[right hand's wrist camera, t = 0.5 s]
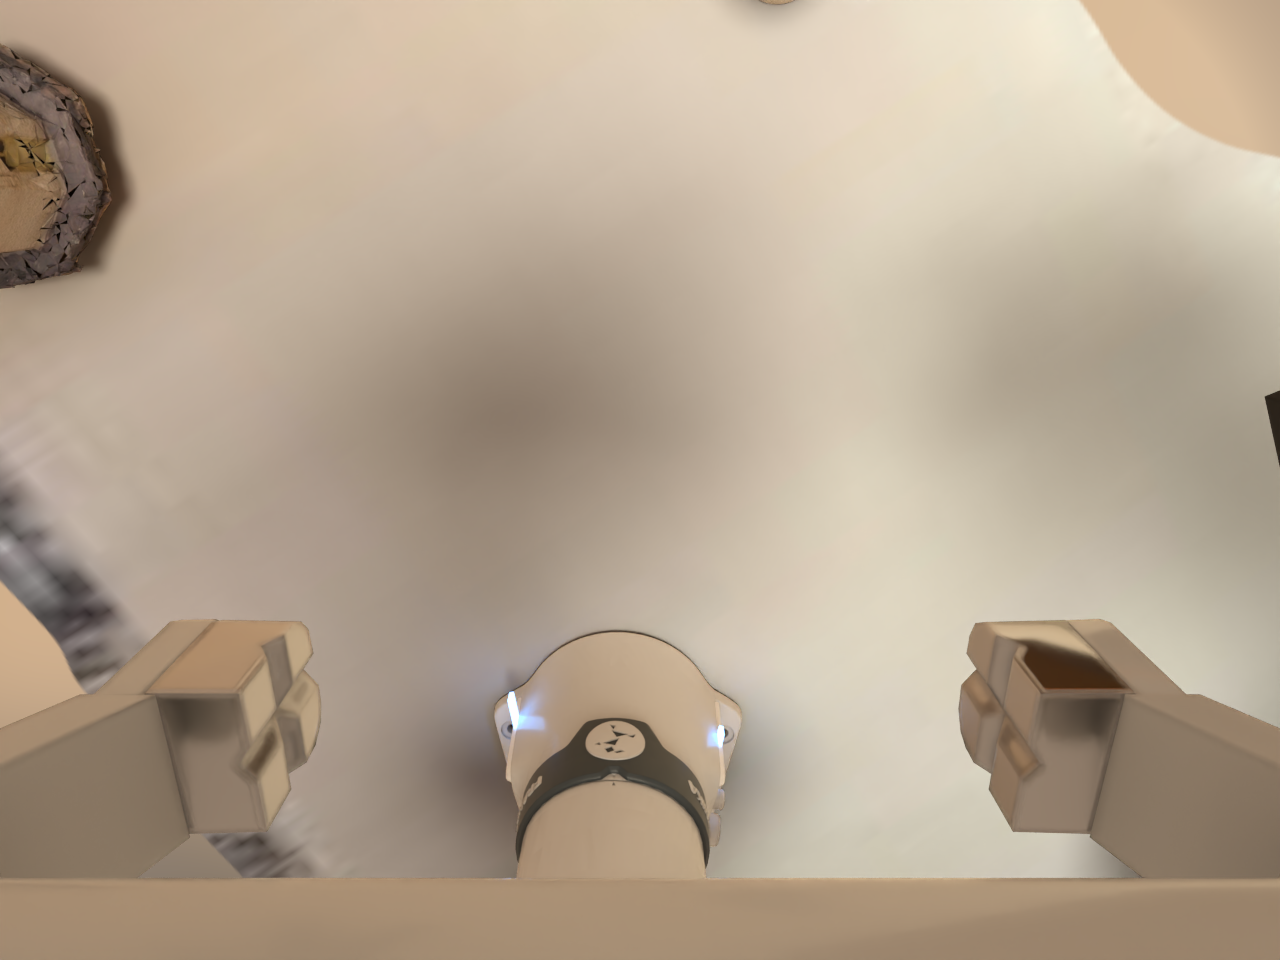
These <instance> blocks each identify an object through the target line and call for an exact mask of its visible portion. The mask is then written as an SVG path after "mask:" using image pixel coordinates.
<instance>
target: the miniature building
mask: <svg viewBox="0 0 1280 960" xmlns="http://www.w3.org/2000/svg"><path fill="white" fill-rule="evenodd" d="M13 84H15V85H13ZM18 85H19V86H20V87H21V88H22V89H23V90H25V91H26V93H24V94H23V93H22V91H21V89H20V88H19V86H18ZM30 89H31V91H30V92H28V91H29V90H30ZM1 96H2V97H1ZM3 97H4V98H3ZM12 97H14V98H15V99H16V100H17V101H16V100H14V99H13V98H12ZM6 99H7V100H6ZM55 100H56V101H55ZM0 101H2V102H0V289H1V288H11V287H13V286H16V285H21V284H25V285H26V284H28V283H34V282H35V280H42V279H45V278H49V277H54V276H61V275H67V274H71V273H73V272H80V271H81V269H82V267H83V266H82V267H81V266H80V265H79V264H78V263H77V262H78V258H79V254H80V253H81V252H82V251H83V250H84V248H85V247H86V246H87V245H88V244H89V242H90V241H91V239H92V237H93V234H94V232H95V229H96V227H97V225H98V223H99V220H100V218H101V216H102V214H103V213H104V211H105V210H106V208H107V207H108V205H109V204H110V202H111V201H112V199H111V193H110V190H109V186H108V181H107V179H108V176H107V172H106V168H105V163H104V161H103V160H102V158H101V156H100V154H99V151H100V149H98V148H97V147H96V145H95V143H94V140H93V134H94V133H93V129H92V128H94V127H93V124H92V121H91V118H90V116H89V113H88V110H87V108H86V106H85V103H84V101H83V100H82V98H81V97H80V95H79V94H78V93H77V92H75V91H74V90H73V89H72V88H70V87H68V86H66V85H62V84H61V83H60V82H58V81H57V80H56V79H53V78H52V77H51V75H50V74H48V73H47V72H46V71H44V70H43V69H41V68H40V67H38V66H37V65H35V64H34V63H32V62H31V61H28V60H25V59H23V58H22V57H21V56H19V55H18V54H17V53H15V52H14V51H12V50H11V49H10V48H8V47H6V46H4V45H2V44H0ZM3 102H5V103H4V104H3ZM62 102H63V103H62ZM19 103H20V104H21V105H20V104H19ZM13 104H14V105H13ZM4 105H5V108H4ZM56 105H57V107H58V108H61V109H65V110H66V111H57V107H56ZM14 109H15V110H14ZM21 110H22V111H21ZM21 113H22V114H21ZM25 113H26V114H25ZM38 113H39V114H38ZM40 114H41V115H40ZM28 115H29V116H28ZM13 116H14V117H13ZM71 116H72V118H71ZM16 117H17V118H16ZM19 118H21V119H19ZM23 118H24V119H23ZM34 119H36V120H34ZM72 120H73V123H72ZM79 121H80V124H79ZM73 125H74V126H73ZM79 125H80V126H82V127H84V128H85V130H84V131H85V132H84V133H85V135H84V133H83V130H82V128H81V127H80V126H79ZM74 127H75V128H76V130H77V131H78V133H79V134H80V136H81V141H80V139H79V138H78V136H77V135H76V132H75V129H74ZM61 128H63V129H65V131H64V133H63V131H62V129H61ZM63 134H65V136H66V137H67V139H68V140H69V141H68V140H67V139H66V138H65V137H64V136H63ZM37 137H38V138H37ZM15 139H18V140H22V141H23V142H24V144H23V143H21V142H19V141H17V140H15ZM38 142H39V143H38ZM28 143H29V144H30V145H31V147H33V148H31V147H30V146H29V144H28ZM81 143H82V144H83V147H82V146H81ZM21 145H26V146H27V147H28V148H26V149H30V150H31V152H32V154H33V156H34V158H33V157H32V158H33V159H31V158H29V156H30V151H29V152H27V150H26V149H25V148H23V147H19V146H21ZM33 152H34V153H35V154H36V155H37V156H38V157H39V158H40V159H42V160H43V161H44V162H45V163H44V164H43V163H42V162H41V161H40V160H39V159H38V158H37V157H36V156H35V154H34V153H33ZM34 161H35V166H34V164H33V162H34ZM47 162H55V163H54V165H52V164H48V163H47ZM42 165H43V166H42ZM36 170H37V171H38V172H39V174H40V176H38V173H37V171H36ZM62 171H63V172H62ZM53 173H58V174H53ZM64 175H65V177H66V180H67V182H68V193H69V192H70V191H72V190H73V189H74V188H75V187H77V186H78V185H79V184H80V185H79V186H78V188H77V189H76V191H75V192H74V194H73V195H72V197H71V198H70V196H69V195H68V193H67V188H66V182H65V177H64ZM96 175H99V176H98V177H99V178H100V179H99V178H98V177H97V176H96ZM100 176H101V177H100ZM56 177H57V179H55V178H56ZM53 179H55V180H54V181H52V180H53ZM51 181H52V182H51ZM83 181H86V183H82V182H83ZM93 182H95V184H96V187H97V188H96V187H95V186H94V184H93ZM48 183H49V184H48ZM81 183H82V184H81ZM102 189H103V190H102ZM101 190H102V191H101ZM49 191H52V192H49ZM100 191H101V192H100ZM99 192H100V193H99ZM57 198H58V199H60V200H59V201H56V200H57ZM68 198H70V199H69V200H68ZM43 199H44V200H43ZM51 199H53V200H54V202H55V203H56V205H57V206H56V205H55V203H54V202H52V203H51V204H50V205H49V206H47V207H46V208H45V209H44V210H43V208H44V207H45V206H46V205H47V204H48V203H49V201H50V200H51ZM62 199H64V200H62ZM57 207H58V208H60V207H61V208H62V209H61V210H58V208H57ZM100 207H102V208H100ZM99 208H100V209H99ZM42 210H43V211H42ZM57 210H58V211H61V212H63V213H64V214H63V213H60V212H58V211H57ZM69 212H70V213H69ZM68 213H69V214H68ZM66 214H68V215H69V216H68V217H69V218H68V224H61V223H63V222H64V221H66V220H67V217H66ZM90 214H91V216H90V217H89V215H90ZM79 215H81V216H79ZM82 215H85V217H84V216H82ZM77 216H78V217H77ZM74 217H75V218H74ZM55 222H58V223H59V224H60V229H61V231H60V230H59V229H58V228H57V227H56V226H55V225H58V224H57V223H55ZM68 225H69V226H68ZM41 227H42V228H43V227H44V228H53V229H41ZM70 228H71V229H70ZM40 229H41V230H40ZM71 230H72V231H73V232H72V231H71ZM59 232H61V234H60V238H59V244H58V239H57V236H56V235H55V236H53V235H54V234H58V233H59ZM80 233H81V234H80ZM65 234H66V235H65ZM52 236H53V237H52ZM38 239H40V240H41V241H42V242H39V241H36V240H38ZM44 244H46V245H44ZM34 249H35V250H34ZM24 250H30V252H31V253H28V252H26V251H24ZM32 250H33V251H32ZM24 259H25V260H24ZM32 279H33V280H32ZM14 288H15V287H14Z"/></svg>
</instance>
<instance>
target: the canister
mask: <svg viewBox="0 0 1280 960" xmlns="http://www.w3.org/2000/svg"><path fill="white" fill-rule="evenodd" d="M760 1H762V2H765V3H769V4H785V3H789V2H792V1H794V0H760Z"/></svg>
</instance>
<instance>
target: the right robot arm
mask: <svg viewBox="0 0 1280 960" xmlns="http://www.w3.org/2000/svg"><path fill="white" fill-rule="evenodd" d="M312 655H313V649H312V644H311V639H310V634H309V630H308V628H307V627H306V626H305V625H304V624H303V623H302V622H301V621H251V620H220V621H219V620H217V619H201V620H178V621H171V622H170V623H168V624H167V625H166V626H165V627H164V628H163V629H162V630H161V631H160V632H159V633H158V634H157V635H156V636H155V637H154V638H153V639H152V640H151V641H150V642H148V643H147V644H146V645H145V646H144V647H143V648H142V649H141V650H140V651H139V652H138V653H137V654H136V655H135V656H134V657H133V658H132V659H131V660H130V661H128V662H127V663H126V664H125V665H124V666H123V667H122V668H121V669H120V670H119V671H118V672H117V673H116V674H115V675H114V676H113V677H112V678H111V679H110V680H108V681H107V682H106V683H105V684H104V685H103V686H102V687H101V688H100V689H99V690H98V691H97V692H96V693H95V694H84V695H78V696H75V697H73V698H71V699H68V700H66V701H64V702H61V703H59V704H57V705H54V706H52V707H49V708H47V709H45V710H42V711H40V712H38V713H35V714H33V715H31V716H28V717H26V718H23V719H21V720H19V721H16V722H14V723H12V724H9V725H7V726H5V727H2V728H0V960H1280V728H1278V727H1275V726H1273V725H1271V724H1268V723H1266V722H1263V721H1261V720H1259V719H1256V718H1254V717H1252V716H1249V715H1247V714H1245V713H1242V712H1240V711H1238V710H1235V709H1233V708H1231V707H1228V706H1226V705H1224V704H1221V703H1219V702H1216V701H1214V700H1212V699H1209V698H1207V697H1205V696H1202V695H1196V694H1185V693H1184V692H1183V691H1182V690H1181V689H1180V688H1179V687H1178V686H1177V685H1176V684H1175V683H1174V682H1173V681H1172V680H1171V679H1170V678H1168V677H1167V676H1166V675H1165V674H1164V673H1163V672H1162V671H1161V670H1160V669H1159V668H1158V667H1157V666H1156V665H1155V664H1154V663H1153V662H1152V661H1151V660H1150V659H1149V658H1148V657H1146V656H1145V655H1144V654H1143V653H1142V652H1141V651H1140V650H1139V649H1138V648H1137V647H1136V646H1135V645H1134V644H1133V643H1132V642H1131V641H1130V640H1129V639H1128V638H1127V637H1125V636H1124V635H1123V634H1122V633H1121V632H1120V631H1119V630H1118V629H1117V628H1116V627H1115V626H1114V625H1113V624H1112V623H1110V622H1107V621H1104V620H1102V619H1086V620H1050V621H1009V622H982V623H975V625H974V627H973V629H972V632H971V634H970V637H969V643H968V648H967V655H968V656H969V658H970V659H971V661H972V663H973V664H974V666H975V667H976V670H975V671H974V672H973V673H972V674H971V676H970V677H969V678H968V679H967V680H966V681H965V682H964V683H963V684H962V685H961V693H960V701H959V719H960V730H961V734H962V737H963V740H964V744H965V747H966V749H967V751H968V753H969V755H970V756H971V758H972V760H973V762H974V763H975V764H977V765H978V766H980V767H982V768H983V769H985V770H986V771H988V772H989V773H991V779H990V785H989V791H990V792H991V794H992V796H993V797H994V799H995V801H996V803H997V804H998V806H999V808H1000V810H1001V811H1002V813H1003V815H1004V817H1005V818H1006V820H1007V822H1008V824H1009V825H1010V827H1011V829H1012V831H1013V832H1043V833H1080V834H1090V838H1092V839H1093V840H1094V841H1096V842H1097V843H1098V844H1099V845H1101V846H1102V847H1103V848H1105V849H1106V850H1107V851H1109V852H1110V853H1111V854H1112V855H1114V856H1115V857H1116V858H1118V859H1119V860H1120V861H1122V862H1123V863H1124V864H1126V865H1127V866H1128V867H1129V868H1131V869H1132V870H1133V871H1135V872H1136V873H1137V874H1139V875H1140V876H1141V877H1142V878H706V872H705V869H706V866H707V864H708V858H709V851H710V846H712V847H714V846H717V844H718V842H719V837H720V830H721V819H720V815H718V814H717V813H714V810H715V809H716V810H722V809H723V807H724V801H725V792H724V790H721V788H722V785H724V783H725V775H726V772H727V769H728V766H729V762H730V759H731V756H732V753H733V750H734V747H735V744H736V740H737V737H738V734H739V731H740V728H741V724H742V712H741V709H740V708H739V706H738V705H737V704H736V703H735V702H733V701H732V700H730V699H729V698H727V697H726V696H724V695H722V694H721V693H719V692H717V691H716V690H714V689H713V688H712V687H711V686H710V685H709V684H708V683H707V681H706V680H705V678H704V677H703V676H702V674H701V673H700V671H699V670H698V669H697V667H696V666H695V665H694V664H693V663H692V662H691V661H690V660H689V659H688V658H687V657H686V656H685V655H684V654H682V653H681V652H680V651H678V650H677V649H675V648H674V647H672V646H670V645H668V644H667V643H664V642H662V641H660V640H657V639H655V638H652V637H649V636H645V635H641V634H635V633H628V632H607V633H599V634H594V635H590V636H586V637H583V638H580V639H577V640H575V641H573V642H571V643H569V644H567V645H565V646H563V647H561V648H560V649H558V650H557V651H556V652H554V653H553V654H552V655H551V656H549V657H548V658H547V659H546V660H545V661H544V662H543V663H542V664H541V666H540V667H539V668H538V669H537V671H536V672H535V673H534V675H533V676H532V677H531V679H530V680H529V681H528V682H527V683H526V684H525V685H524V686H522V687H520V688H518V689H516V690H514V691H512V692H510V693H509V694H507V695H505V696H504V697H503V698H501V699H500V700H499V701H498V702H497V704H496V706H495V712H494V720H495V724H496V727H497V731H498V735H499V738H500V742H501V745H502V749H503V753H504V756H505V760H506V763H507V766H506V779H507V780H508V781H509V782H511V784H512V789H513V793H514V796H515V799H516V802H517V805H518V808H519V812H518V818H517V824H516V832H517V837H516V854H517V860H518V863H519V864H518V869H517V875H516V878H138V877H139V876H140V875H142V874H143V873H144V872H146V871H147V870H148V869H150V868H151V867H152V866H153V865H155V864H156V863H157V862H159V861H160V860H161V859H163V858H164V857H165V856H167V855H168V854H169V853H170V852H172V851H173V850H174V849H176V848H177V847H178V846H179V845H181V844H182V843H183V842H185V841H186V840H187V839H189V838H190V835H189V834H200V833H235V832H267V831H268V829H269V827H270V826H271V824H272V822H273V820H274V819H275V817H276V815H277V813H278V812H279V810H280V808H281V806H282V805H283V803H284V801H285V799H286V798H287V796H288V794H289V792H290V790H291V785H290V779H289V773H291V772H292V771H294V770H295V769H297V768H298V767H300V766H302V765H303V764H305V763H306V762H307V760H308V758H309V756H310V754H311V753H312V751H313V749H314V747H315V745H316V740H317V736H318V732H319V728H320V723H321V698H320V691H319V685H318V684H317V683H316V682H315V681H314V680H313V679H312V678H311V677H310V676H309V674H308V673H307V672H306V671H305V670H304V667H305V666H306V664H307V663H308V661H309V660H310V658H311V656H312ZM510 724H513V727H511V726H510ZM724 729H726V731H724Z"/></svg>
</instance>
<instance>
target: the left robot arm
mask: <svg viewBox="0 0 1280 960" xmlns="http://www.w3.org/2000/svg"><path fill="white" fill-rule="evenodd" d="M1265 400H1266V405H1267V409H1268V414H1269V419H1270V423H1271V428H1272V433H1273V437H1274V442H1275V447H1276V451H1277V456H1278V460H1279V465H1280V391H1277V392H1275V393H1272V394H1270V395H1267V396H1265Z"/></svg>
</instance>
